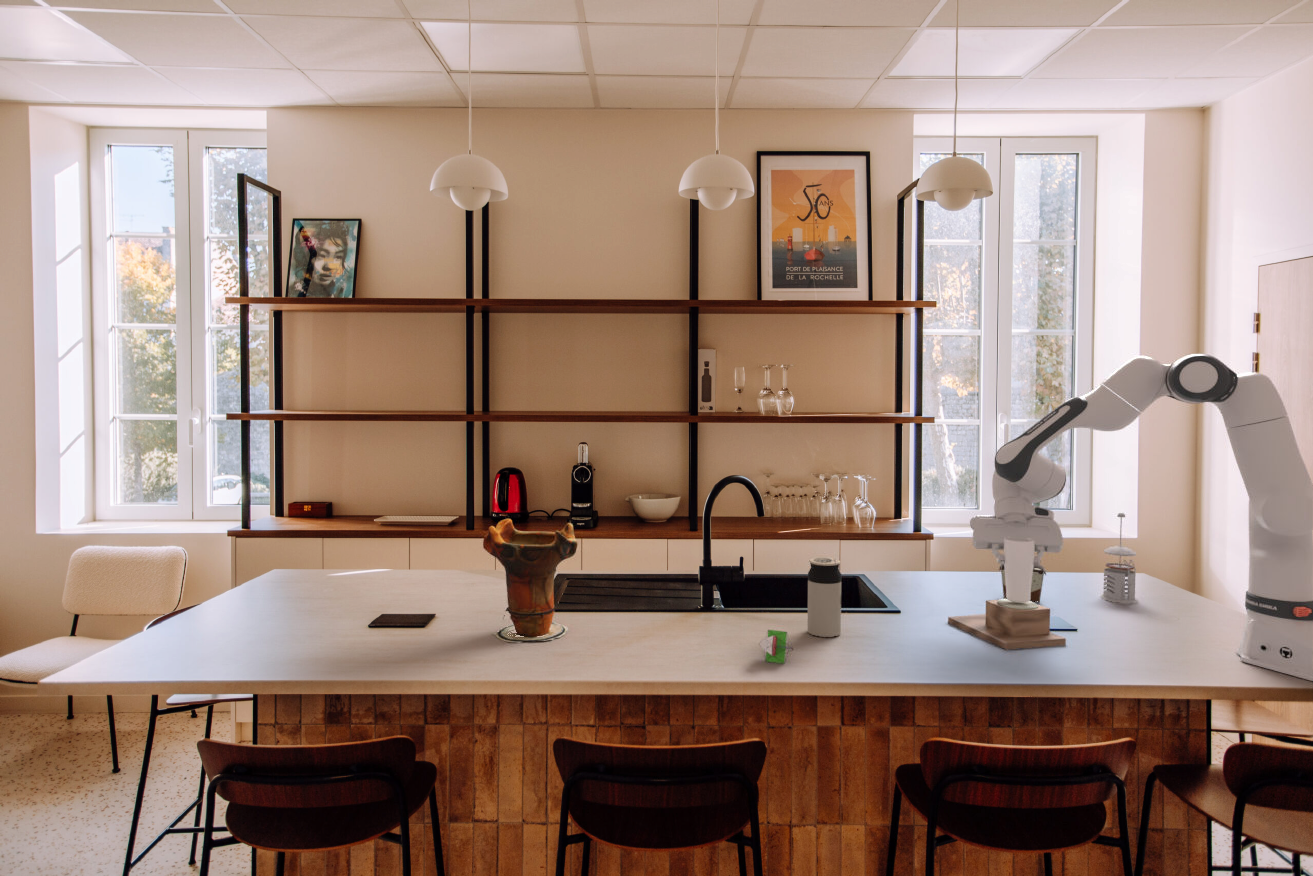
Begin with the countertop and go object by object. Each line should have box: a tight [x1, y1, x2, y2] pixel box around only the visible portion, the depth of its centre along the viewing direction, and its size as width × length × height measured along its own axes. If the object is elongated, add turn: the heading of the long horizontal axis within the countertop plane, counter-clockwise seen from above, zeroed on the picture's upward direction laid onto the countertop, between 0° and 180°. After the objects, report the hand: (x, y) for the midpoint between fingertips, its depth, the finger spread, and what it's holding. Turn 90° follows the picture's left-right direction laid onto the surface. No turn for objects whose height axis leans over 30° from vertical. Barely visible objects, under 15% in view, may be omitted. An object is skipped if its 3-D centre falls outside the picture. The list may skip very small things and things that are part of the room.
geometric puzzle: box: [758, 629, 794, 665], centre depth 164 cm, size 7×7×8 cm
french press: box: [1099, 512, 1140, 604], centre depth 215 cm, size 10×12×25 cm
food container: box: [998, 563, 1047, 602], centre depth 218 cm, size 12×6×10 cm, turn 58°
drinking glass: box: [1003, 537, 1036, 603], centre depth 182 cm, size 7×7×15 cm
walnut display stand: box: [947, 598, 1067, 651], centre depth 184 cm, size 22×16×8 cm
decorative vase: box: [482, 518, 579, 644], centre depth 185 cm, size 21×23×28 cm
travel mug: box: [807, 557, 842, 638], centre depth 184 cm, size 8×8×18 cm
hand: (1019, 563), depth 181 cm, fingers closed on drinking glass, 6 cm apart
